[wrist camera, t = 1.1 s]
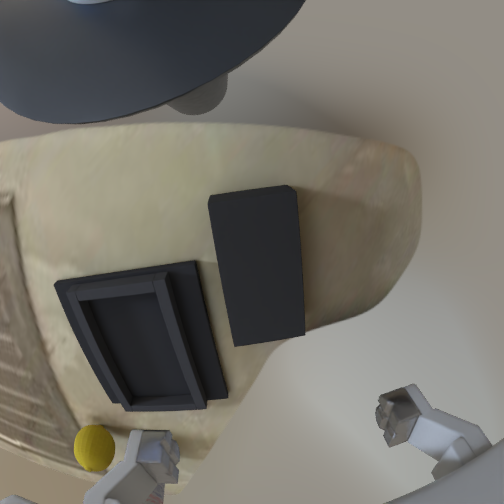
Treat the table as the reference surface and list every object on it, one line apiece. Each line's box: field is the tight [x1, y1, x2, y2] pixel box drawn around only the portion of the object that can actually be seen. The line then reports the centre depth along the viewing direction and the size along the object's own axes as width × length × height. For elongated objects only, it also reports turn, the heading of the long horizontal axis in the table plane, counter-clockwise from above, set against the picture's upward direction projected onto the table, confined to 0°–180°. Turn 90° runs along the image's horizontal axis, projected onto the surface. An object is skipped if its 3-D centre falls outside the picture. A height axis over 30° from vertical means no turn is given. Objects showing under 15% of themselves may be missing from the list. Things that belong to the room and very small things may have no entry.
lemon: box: [74, 425, 115, 472], centre depth 28 cm, size 6×6×8 cm
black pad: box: [208, 185, 305, 347], centre depth 23 cm, size 12×6×3 cm, turn 7°
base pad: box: [54, 260, 228, 412], centre depth 26 cm, size 16×14×2 cm
